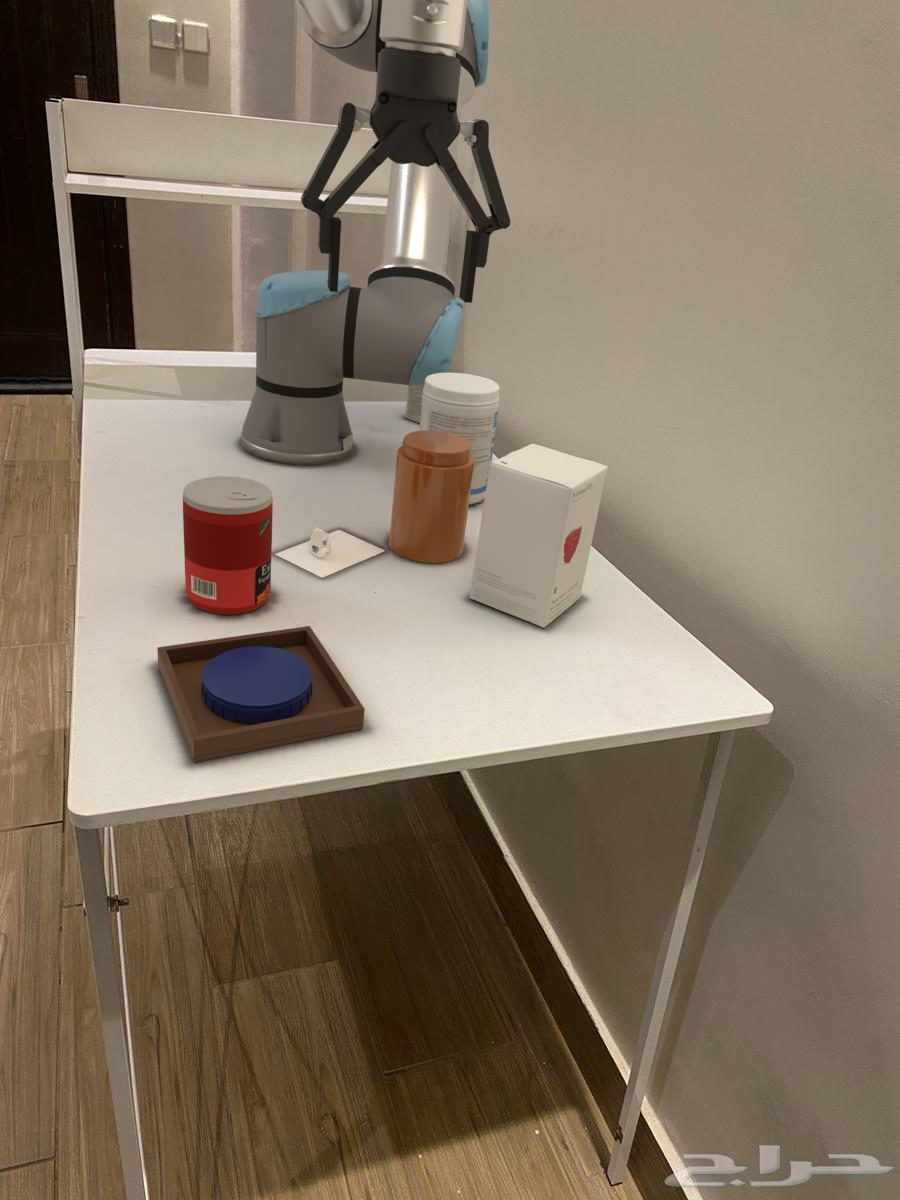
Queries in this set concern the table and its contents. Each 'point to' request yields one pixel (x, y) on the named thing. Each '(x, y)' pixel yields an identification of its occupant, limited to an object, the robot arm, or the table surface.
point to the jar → (431, 496)
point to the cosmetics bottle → (414, 403)
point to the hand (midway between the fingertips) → (400, 295)
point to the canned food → (227, 544)
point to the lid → (256, 684)
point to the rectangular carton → (536, 532)
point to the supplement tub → (464, 417)
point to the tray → (220, 737)
